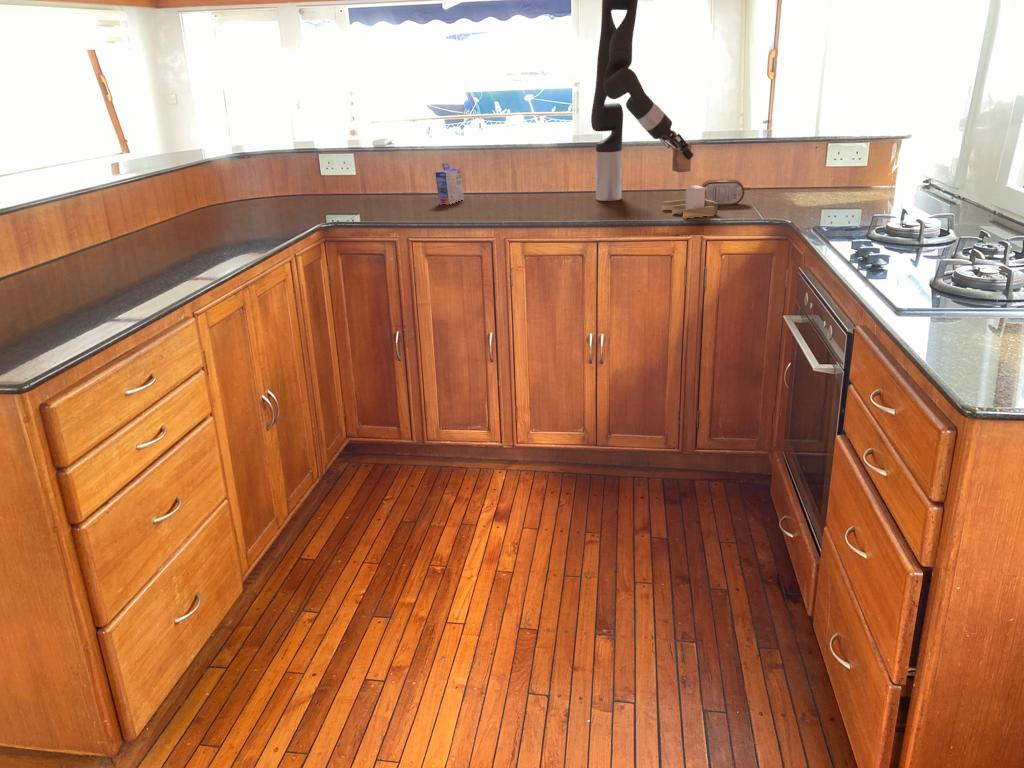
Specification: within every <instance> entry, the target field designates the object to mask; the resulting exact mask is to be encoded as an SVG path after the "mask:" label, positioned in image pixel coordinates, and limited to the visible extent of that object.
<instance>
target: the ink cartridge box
mask: <svg viewBox="0 0 1024 768" xmlns="http://www.w3.org/2000/svg"><path fill="white" fill-rule="evenodd" d="M441 166H442V168H443V169H442V170H439V171H438V170H437V171H435V180H436V181H435V182H436V190H437V198H438V199H437V200H438V205H442V204H446V205H445V206H450V205H453V204H456V203H455V202H457V203H459V202H458V201H460V202H462V201H461V200H463V201H464V200H465V198H464V197H465V196H464V189H463V177H462V167H460V168H458V167H450V165H449V163H448V162H445V163H441ZM452 203H453V204H452ZM449 204H450V205H449Z"/></svg>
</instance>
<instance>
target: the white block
mask: <svg viewBox="0 0 1024 768" xmlns="http://www.w3.org/2000/svg"><path fill="white" fill-rule="evenodd" d="M701 186H702V185H701ZM701 186H700V185H690V186H689V185H688V186H686V189H685V200H686V209H691V208H700V207H704V201H705V187H701Z"/></svg>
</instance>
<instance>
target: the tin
mask: <svg viewBox="0 0 1024 768" xmlns="http://www.w3.org/2000/svg"><path fill="white" fill-rule="evenodd" d="M701 187H705V199H707V200H710V201H713V202H717V203H718V206H735V205H737V204H739V203H740V202H741V201H742V200H743V198H744V196H745V188H744V185H743V184H742V183H741V181H739V180H737V179H709V180H707V181H705V182H703V183H702V184H701Z"/></svg>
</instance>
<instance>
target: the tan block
mask: <svg viewBox="0 0 1024 768" xmlns="http://www.w3.org/2000/svg"><path fill="white" fill-rule="evenodd" d="M685 142H686V143H687V144H688V147H687V148H688V149H689V150H690V151H691V152H692V142H690V141H686V140H685ZM674 145H676V143H675V144H674ZM682 146H683V145H682ZM682 146H681V147H682ZM691 161H692V158H691V159H690V160H689V159H687V158H686V157H685V156H684V155H683V154H682V153H681V152H680V151H679V150H678V149H677V148H673V150H672V167H671V168H672V171H673V172H676V173H688V172H691V166H692V165H691V164H692V162H691Z"/></svg>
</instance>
